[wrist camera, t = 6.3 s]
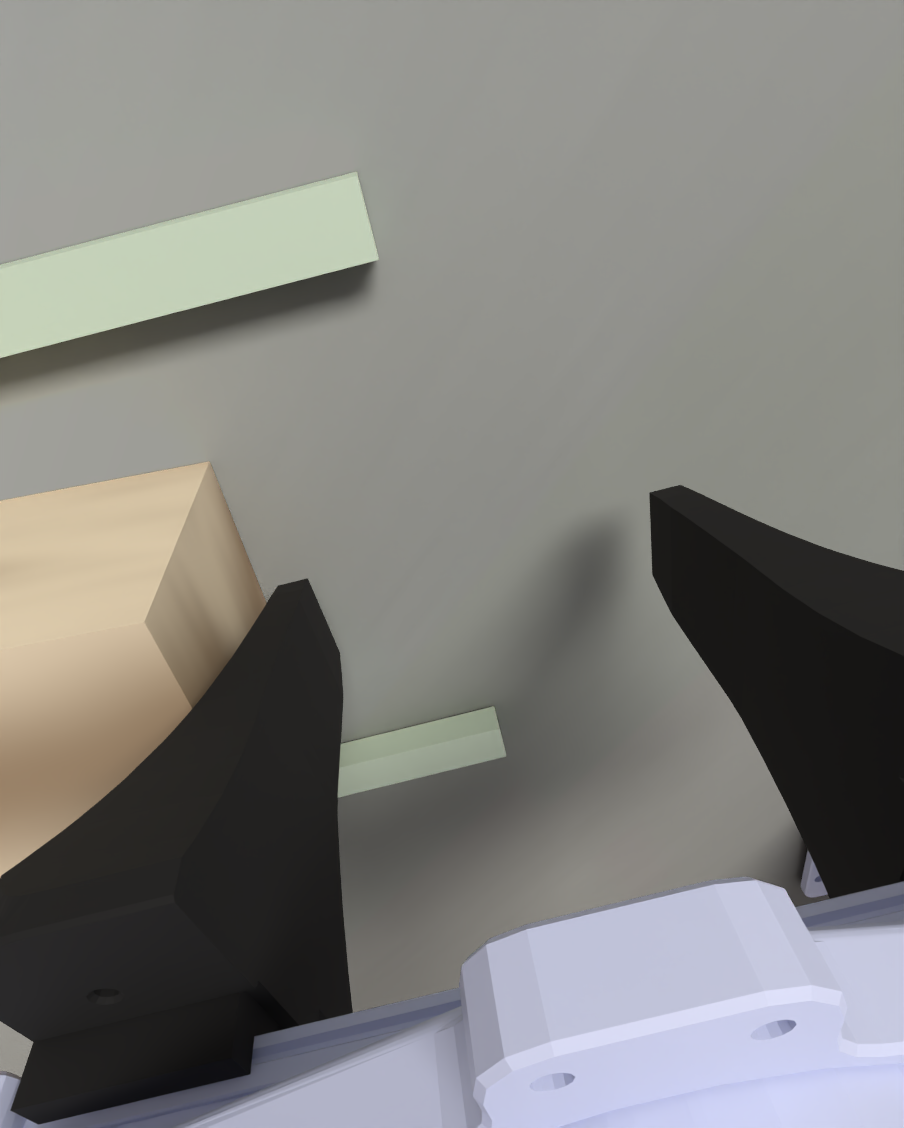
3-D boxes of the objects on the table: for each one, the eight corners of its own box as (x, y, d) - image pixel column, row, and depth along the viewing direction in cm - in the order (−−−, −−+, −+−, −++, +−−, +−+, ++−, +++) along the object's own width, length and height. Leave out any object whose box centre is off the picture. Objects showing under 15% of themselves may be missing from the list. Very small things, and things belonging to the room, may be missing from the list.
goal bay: (501, 733, 19) (506, 756, 18) (30, 849, 19) (19, 875, 18) (356, 171, 10) (357, 175, 10) (-473, 388, 11) (-527, 406, 10)
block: (295, 673, 16) (275, 859, 12) (58, 720, 16) (-39, 922, 12) (209, 461, 13) (144, 621, 9) (-92, 517, 13) (-299, 707, 9)
